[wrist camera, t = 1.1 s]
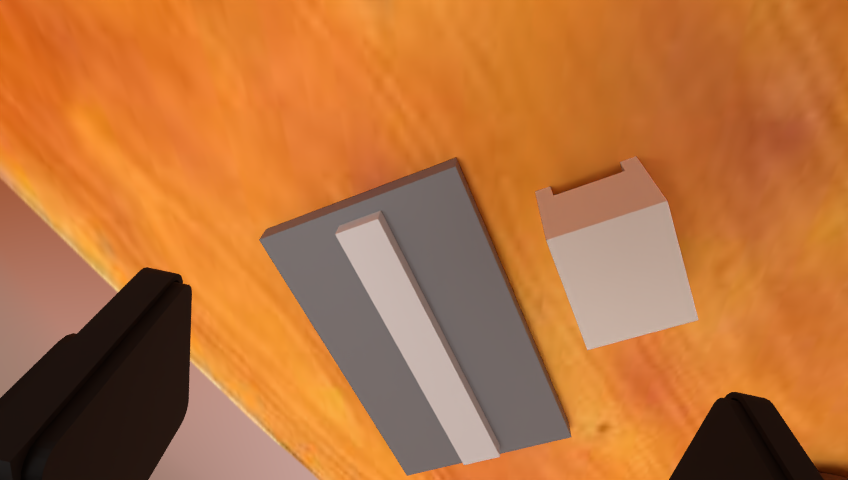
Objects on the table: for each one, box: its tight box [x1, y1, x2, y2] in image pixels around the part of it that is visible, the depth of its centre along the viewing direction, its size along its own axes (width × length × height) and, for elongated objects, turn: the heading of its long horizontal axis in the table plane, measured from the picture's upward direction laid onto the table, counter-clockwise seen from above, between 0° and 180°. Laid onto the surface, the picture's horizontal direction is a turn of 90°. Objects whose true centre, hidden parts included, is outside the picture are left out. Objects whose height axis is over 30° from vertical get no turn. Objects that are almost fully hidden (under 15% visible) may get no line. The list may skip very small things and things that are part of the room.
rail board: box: [259, 158, 571, 475], centre depth 42 cm, size 14×24×3 cm, turn 23°
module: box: [535, 156, 698, 350], centre depth 35 cm, size 6×8×6 cm
